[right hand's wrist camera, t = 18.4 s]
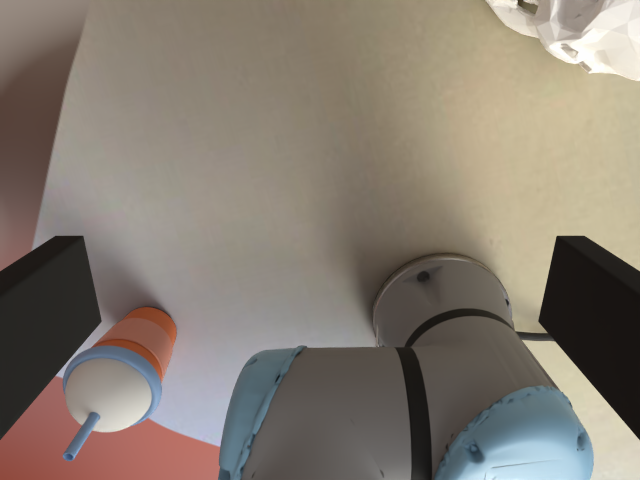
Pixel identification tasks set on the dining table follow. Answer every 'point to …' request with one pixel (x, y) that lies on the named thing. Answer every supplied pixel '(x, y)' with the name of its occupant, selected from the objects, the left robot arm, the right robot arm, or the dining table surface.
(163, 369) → the cup with straw
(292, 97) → the dining table surface
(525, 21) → the skull
